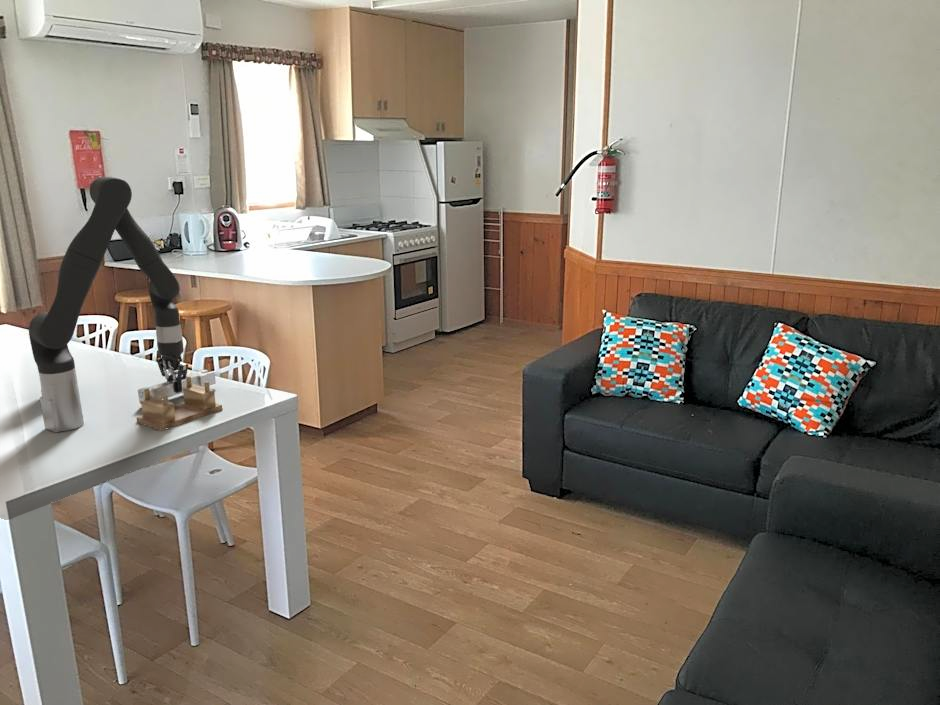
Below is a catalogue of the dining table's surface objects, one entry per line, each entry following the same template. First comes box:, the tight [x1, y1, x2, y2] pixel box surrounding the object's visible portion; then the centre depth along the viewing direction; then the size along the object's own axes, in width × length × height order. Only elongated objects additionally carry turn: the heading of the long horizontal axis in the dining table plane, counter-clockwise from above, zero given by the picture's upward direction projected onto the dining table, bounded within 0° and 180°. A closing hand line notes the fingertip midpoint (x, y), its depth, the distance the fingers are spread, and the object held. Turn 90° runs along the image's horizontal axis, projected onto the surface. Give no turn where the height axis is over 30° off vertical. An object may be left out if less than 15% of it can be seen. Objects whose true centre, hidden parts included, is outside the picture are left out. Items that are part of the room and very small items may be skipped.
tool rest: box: [135, 375, 223, 431], centre depth 225 cm, size 21×12×10 cm, turn 145°
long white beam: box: [137, 369, 216, 405], centre depth 241 cm, size 26×5×4 cm, turn 145°
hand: (175, 390), depth 240 cm, fingers closed on long white beam, 3 cm apart
